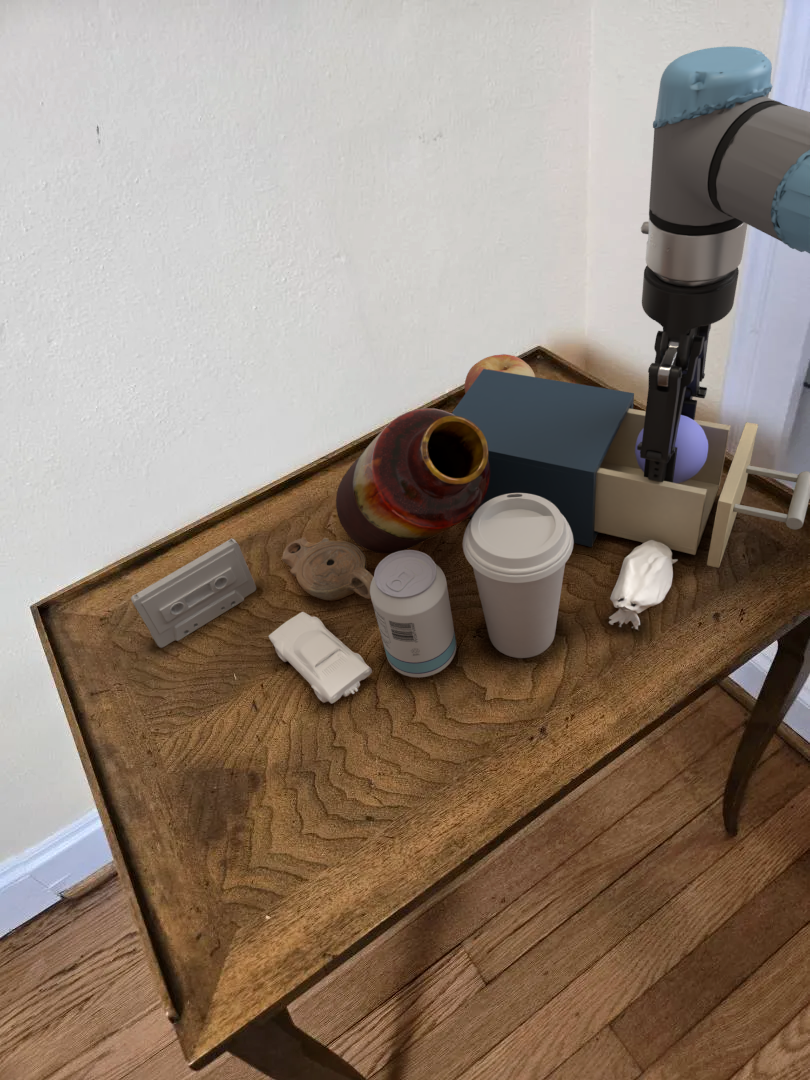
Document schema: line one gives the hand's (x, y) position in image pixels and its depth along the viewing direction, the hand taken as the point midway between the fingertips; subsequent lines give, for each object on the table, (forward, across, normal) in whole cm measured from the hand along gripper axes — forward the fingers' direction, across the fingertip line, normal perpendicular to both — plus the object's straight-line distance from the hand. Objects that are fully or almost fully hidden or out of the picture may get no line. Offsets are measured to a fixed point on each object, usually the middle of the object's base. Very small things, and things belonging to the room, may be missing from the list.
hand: (666, 473), depth 83 cm
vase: (+3, +12, -29) cm, 31 cm away
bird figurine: (+6, +11, +1) cm, 13 cm away
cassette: (+7, +30, -40) cm, 51 cm away
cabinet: (+6, 0, -14) cm, 16 cm away
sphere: (0, 0, 0) cm, 0 cm away
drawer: (+5, 0, +2) cm, 6 cm away
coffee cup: (+6, +20, -8) cm, 23 cm away
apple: (+7, -12, -23) cm, 27 cm away
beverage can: (+7, +26, -16) cm, 31 cm away
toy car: (+7, +31, -25) cm, 40 cm away
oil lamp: (+7, +21, -29) cm, 37 cm away
